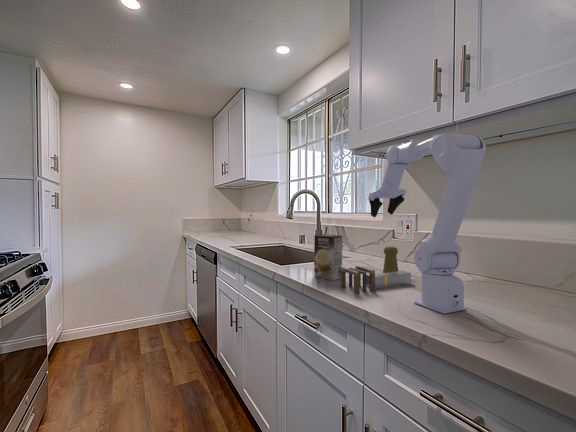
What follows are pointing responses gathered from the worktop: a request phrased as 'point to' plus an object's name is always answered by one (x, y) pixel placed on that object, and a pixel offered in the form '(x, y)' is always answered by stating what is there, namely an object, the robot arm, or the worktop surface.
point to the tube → (390, 279)
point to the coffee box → (327, 256)
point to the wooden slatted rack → (357, 278)
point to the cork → (390, 259)
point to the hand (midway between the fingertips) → (381, 214)
